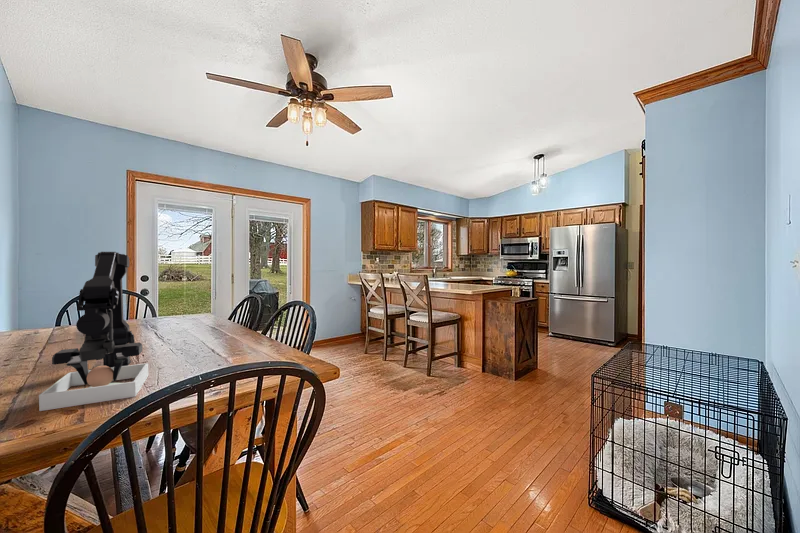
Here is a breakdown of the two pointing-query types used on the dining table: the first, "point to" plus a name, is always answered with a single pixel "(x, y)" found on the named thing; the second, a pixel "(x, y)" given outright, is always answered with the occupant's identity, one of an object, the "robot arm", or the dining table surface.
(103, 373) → the ball
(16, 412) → the dining table surface
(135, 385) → the walled pen
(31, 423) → the dining table surface
